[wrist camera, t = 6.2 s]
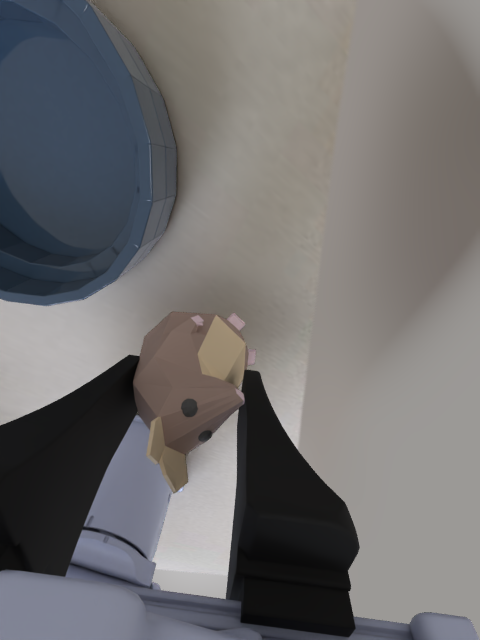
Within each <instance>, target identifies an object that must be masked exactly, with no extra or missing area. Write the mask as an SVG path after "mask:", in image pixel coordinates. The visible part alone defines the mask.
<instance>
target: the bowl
mask: <svg viewBox="0 0 480 640" xmlns="http://www.w3.org/2000/svg"><path fill="white" fill-rule="evenodd" d="M176 166H177V151H176V144H175V140H174V137H173V133H172V129H171V125H170V121H169V118H168V114H167V110H166V106H165V103H164V99H163V98H162V95H161V93H160V91H159V90H158V88H157V86H156V84H155V82H154V81H153V79H152V77H151V75H150V73H149V72H148V70H147V68H146V66H145V64H144V63H143V61H142V59H141V57H140V55H139V54H138V52H137V50H136V48H135V47H134V46H133V44H132V43H131V42H130V41H129V40H128V39H127V38H126V37H125V36H124V35H123V34H122V33H121V32H120V31H119V30H118V29H117V28H116V27H115V26H114V25H113V24H112V23H111V22H110V20H109V19H108V18H107V17H106V16H105V15H104V14H103V13H102V12H101V11H100V10H99V9H98V8H97V7H96V6H95V5H94V4H93V3H92V2H91V1H90V0H0V299H2V300H6V301H10V302H18V303H26V304H34V305H42V306H51V305H56V304H62V303H67V302H73V301H78V300H84V299H86V298H88V297H89V296H91V295H93V294H94V293H96V292H98V291H99V290H101V289H103V288H104V287H106V286H108V285H109V284H111V283H113V282H114V281H116V280H117V279H118V278H120V277H121V276H122V275H124V274H125V273H126V272H128V271H129V270H130V269H131V268H133V267H134V266H135V265H137V264H138V263H139V262H141V261H142V260H143V259H144V258H145V257H146V256H147V254H148V253H149V252H150V250H151V249H152V248H153V246H154V245H155V244H156V243H157V241H158V240H159V239H160V237H161V236H162V235H163V233H164V231H165V229H166V226H167V223H168V220H169V217H170V214H171V210H172V207H173V204H174V201H175V198H176Z"/></svg>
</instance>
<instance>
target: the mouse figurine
mask: <svg viewBox="0 0 480 640" xmlns="http://www.w3.org/2000/svg"><path fill="white" fill-rule="evenodd" d="M244 326H245V322H244V321H243V320H242V319H241V318H239V317H238V316H237V315H236V314H235V313H233V314H232V315H230V316H229V317H228V318H227V319H224V318H222V317H220V316H218V315H215V314H200V313H185V312H171V313H170V314H169V315H168V316H167V317H166V318H164V319H163V320H162V321H161V322H160V323H159V324H158V325H157V326H156V327H155V328H153V329H152V330H151V331H150V332H149V333H148V334H147V335H146V336H145V337H144V341H143V345H142V349H141V353H140V357H139V358H140V360H139V362H138V365H137V368H136V372H135V376H134V380H133V389H134V397H135V402H136V406H137V410H138V413H139V416H140V418H141V419H142V420H143V422H144V423H145V425H146V426H147V427H148V429H149V430H150V434H149V441H148V447H147V453H146V456H147V457H148V458H149V459H150V460H151V461H152V462H153V463H154V464H155V465H156V464H158V463H159V465H160V468H161V471H162V474H163V476H164V478H165V480H166V482H167V483H168V485H169V487H170V489H171V490H172V492H173V494H174V493H176V492H177V491H179V490H180V489H181V488H182V487H183V486H184V485H185V484H186V483H187V482H188V477H187V467H186V458H185V455H186V454H187V453H189V452H190V451H192V450H193V449H195V448H196V447H198V446H199V445H201V444H202V443H204V442H206V441H207V440H209V439H210V438H211V436H212V434H213V433H214V432H215V431H216V430H217V429H218V428H219V427H220V426H221V425H222V424H223V423H224V422H225V420H226V419H227V418H228V417H229V416H230V415H231V414H233V413H234V412H235V411H236V410H237V409H238V408H239V407H241V406H242V405H243V404H244V402H245V398H244V394H243V393H242V392H241V391H240V390H239V389H238V387H239V385H240V383H241V382H242V380H243V376H244V370H246V369H247V365H252V364H254V363H255V355H256V349H247V346H246V343H245V341H244V339H243V337H242V335H241V333H240V330H241V329H242V328H243V327H244Z"/></svg>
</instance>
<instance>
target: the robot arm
mask: <svg viewBox="0 0 480 640" xmlns="http://www.w3.org/2000/svg"><path fill="white" fill-rule="evenodd" d="M139 357H140V356H134V355H128V356H127V357H125V358H124V359H122V360H121V361H119V362H118V363H117V364H115V365H114V366H112V367H111V368H109V369H108V370H106V371H105V372H103V373H102V374H100V375H99V376H97V377H96V378H94V379H93V380H91V381H90V382H88V383H86V384H85V385H83V386H81V387H80V388H78V389H76V390H75V391H73V392H72V393H70V394H68V395H66V396H64V397H63V398H61V399H59V400H57V401H55V402H53V403H51V404H49V405H47V406H45V407H43V408H41V409H39V410H36V411H34V412H32V413H30V414H27V415H25V416H23V417H20V418H18V419H16V420H13V421H11V422H8V423H6V424H3V425H1V426H0V640H480V639H479V637H478V635H477V633H476V631H475V629H474V626H473V624H472V622H471V620H469V619H468V618H467V617H461V616H454V615H447V614H439V613H432V612H424V613H419V614H417V615H415V616H414V617H413V618H412V620H411V622H410V624H404V623H397V622H390V621H382V620H375V619H368V618H360V617H353V612H352V607H351V602H350V598H349V593H348V591H350V589H351V584H350V579H349V574H348V570H349V568H350V566H351V564H352V563H353V561H354V559H355V557H356V555H357V554H358V550H359V542H358V537H357V533H356V530H355V527H354V524H353V521H352V518H351V516H350V513H349V511H348V508H347V506H346V504H345V502H344V501H343V500H342V499H341V498H340V497H339V496H338V495H336V493H335V492H334V491H333V490H332V489H330V487H328V486H327V485H326V484H325V483H324V481H323V480H322V479H321V478H320V477H319V476H318V475H317V474H316V473H315V471H314V470H313V469H312V468H311V466H310V465H309V464H308V463H307V462H306V460H305V459H304V458H303V456H302V455H301V454H300V453H299V451H298V450H297V448H296V447H295V446H294V444H293V443H292V441H291V440H290V438H289V437H288V435H287V433H286V432H285V430H284V429H283V427H282V425H281V423H280V421H279V420H278V418H277V416H276V414H275V412H274V410H273V408H272V406H271V403H270V401H269V399H268V396H267V394H266V391H265V389H264V386H263V383H262V379H261V375H260V373H259V372H258V371H251V370H244V376H243V383H242V390H241V392H242V393H243V394H244V398H245V402H244V404H243V405H242V406H241V407H239V414H238V423H237V487H236V498H235V509H234V519H233V530H232V541H231V551H230V562H229V572H228V582H227V593H226V599H220V598H213V597H206V596H199V595H191V594H183V593H177V592H169V591H162V590H161V589H160V586H159V585H158V584H157V583H154V582H152V578H153V574H154V571H155V567H156V563H154V562H152V560H153V558H154V555H155V552H156V549H157V545H158V541H159V538H160V534H161V531H162V527H163V523H164V520H165V516H166V512H167V509H168V505H169V502H170V498H171V494H172V490H171V489H170V487H169V485H168V483H167V482H166V480H165V478H164V476H163V474H162V471H161V468H160V465H159V463H158V464H156V465H155V464H154V463H153V462H152V461H151V460H150V459H149V458H148V457H147V456H146V453H147V447H148V441H149V434H150V430H149V429H148V427H147V426H146V425H145V423H144V422H143V420H142V419H141V418H140V416H139V415H136V414H137V412H138V410H137V406H136V402H135V397H134V389H133V380H134V376H135V372H136V368H137V365H138V362H139V360H140V358H139ZM183 488H184V486H183V487H182V488H181V489H180V490H179V491H177V492H181V491H183Z"/></svg>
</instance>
